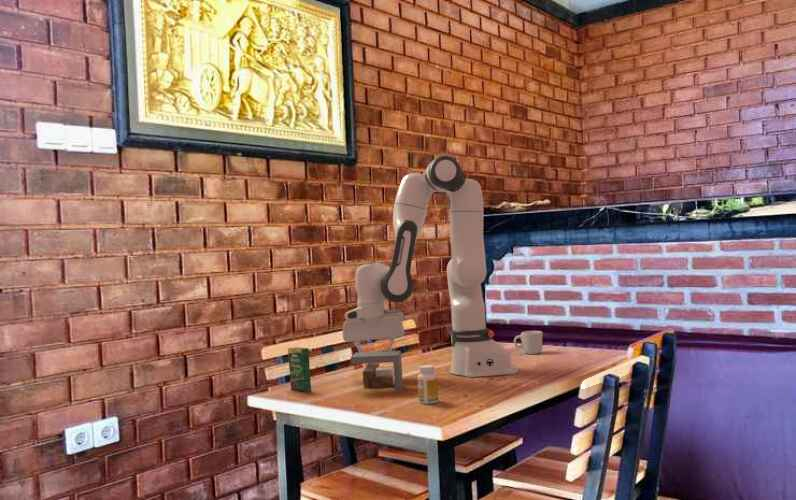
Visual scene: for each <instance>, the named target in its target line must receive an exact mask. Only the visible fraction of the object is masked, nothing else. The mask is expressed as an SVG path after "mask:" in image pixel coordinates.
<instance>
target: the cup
mask: <svg viewBox="0 0 796 500" xmlns="http://www.w3.org/2000/svg"><path fill="white" fill-rule="evenodd" d="M543 333H544V332H543V331H541V330H525V331H522V332H521V333H520V335H519V334H518V335H516V336H515V337H514V338H513V345H514V346H515V347H516V349H517V348H518V349H523V352H524V353H525V354H526V353H527V354H526V355H538V353H539V354H541V353H542V351H543V335H544V334H543ZM518 339H520V341H521V344H520V345H518V343H517V340H518Z"/></svg>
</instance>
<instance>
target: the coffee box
mask: <svg viewBox="0 0 796 500" xmlns="http://www.w3.org/2000/svg"><path fill="white" fill-rule="evenodd" d="M287 351H288V352H287V353H288V354H287V355H288V367H289V379H290V380H289V381H290V390H294V391H298V392H304V393H306V392H311V391H312V386H311V371H310V370H311V369H310V366H311V365H310V352H309V351H310V350H309V348H308V347H298V346H292V347H288V348H287Z"/></svg>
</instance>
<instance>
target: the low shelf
mask: <svg viewBox="0 0 796 500" xmlns="http://www.w3.org/2000/svg"><path fill="white" fill-rule="evenodd" d="M369 363H379V364H384V363H385V364H387V363H393V371H394V394H401V392H402V390H403V388H404V385H403V382H404V381H403V367H402V364H403V363H402V351H401V350H392V351H387V350H386V351H366V352H365V351H364V352H360V353H359V352H354V353H353V354H352V356H351V357H350V364H352V365H357V364H360V365H361V364H369Z"/></svg>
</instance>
